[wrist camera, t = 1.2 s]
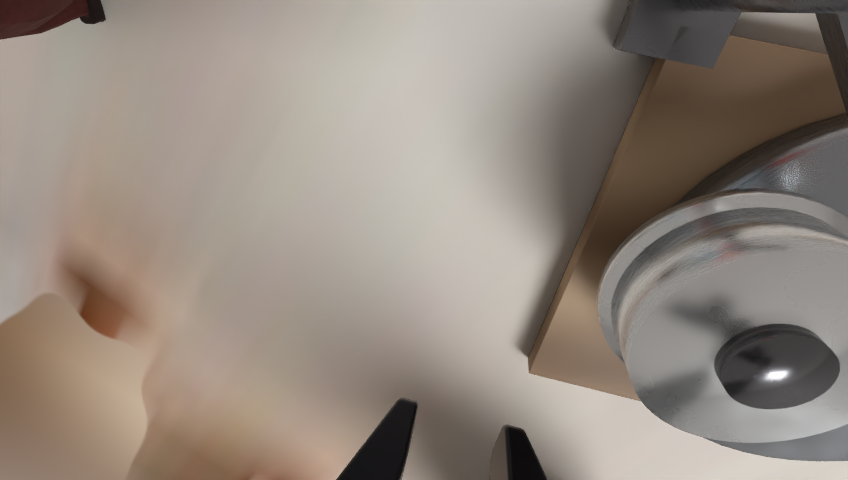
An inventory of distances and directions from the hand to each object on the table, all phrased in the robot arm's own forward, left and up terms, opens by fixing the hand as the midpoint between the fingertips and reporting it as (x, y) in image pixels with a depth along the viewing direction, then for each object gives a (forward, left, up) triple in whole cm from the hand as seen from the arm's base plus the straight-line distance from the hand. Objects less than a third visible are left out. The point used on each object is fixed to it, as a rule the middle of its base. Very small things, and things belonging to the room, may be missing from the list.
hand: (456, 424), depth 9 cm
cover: (0, -9, -8) cm, 12 cm away
